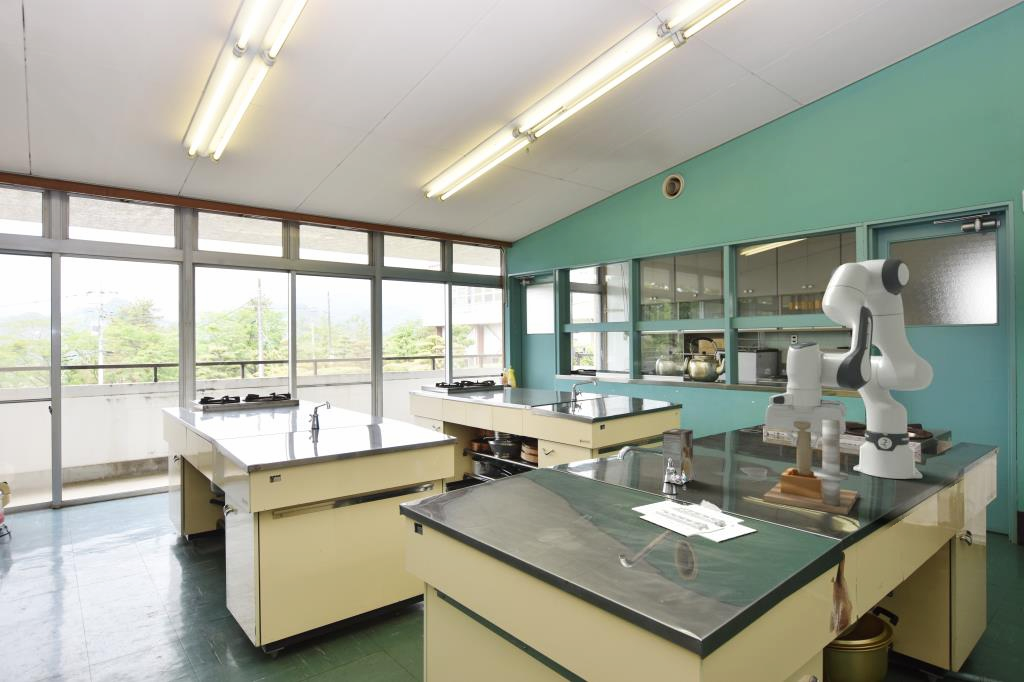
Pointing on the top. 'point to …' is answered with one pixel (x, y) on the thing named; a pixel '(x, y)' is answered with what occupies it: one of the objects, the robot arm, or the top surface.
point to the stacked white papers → (694, 520)
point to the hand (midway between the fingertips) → (804, 447)
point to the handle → (803, 448)
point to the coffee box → (678, 451)
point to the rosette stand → (817, 480)
